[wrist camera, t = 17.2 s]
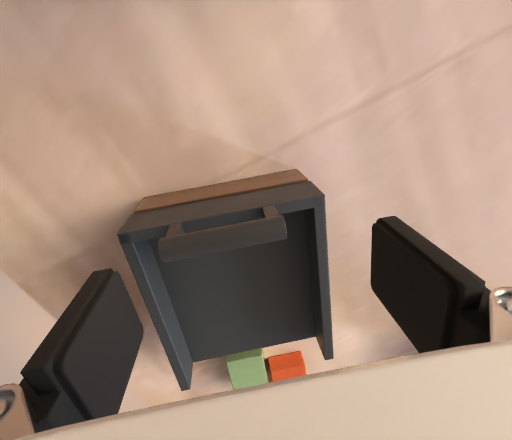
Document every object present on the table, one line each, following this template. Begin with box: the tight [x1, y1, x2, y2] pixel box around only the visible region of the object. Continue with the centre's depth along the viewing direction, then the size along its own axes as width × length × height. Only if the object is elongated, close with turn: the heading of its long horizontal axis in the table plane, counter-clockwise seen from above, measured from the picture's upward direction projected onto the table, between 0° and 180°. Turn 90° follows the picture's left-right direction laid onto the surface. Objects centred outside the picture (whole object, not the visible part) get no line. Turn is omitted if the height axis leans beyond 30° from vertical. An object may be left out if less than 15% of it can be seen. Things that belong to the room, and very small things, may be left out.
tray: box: [117, 181, 333, 391], centre depth 21 cm, size 16×14×7 cm
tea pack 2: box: [268, 351, 306, 382], centre depth 34 cm, size 5×4×2 cm
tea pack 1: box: [226, 348, 268, 390], centre depth 32 cm, size 5×4×2 cm
